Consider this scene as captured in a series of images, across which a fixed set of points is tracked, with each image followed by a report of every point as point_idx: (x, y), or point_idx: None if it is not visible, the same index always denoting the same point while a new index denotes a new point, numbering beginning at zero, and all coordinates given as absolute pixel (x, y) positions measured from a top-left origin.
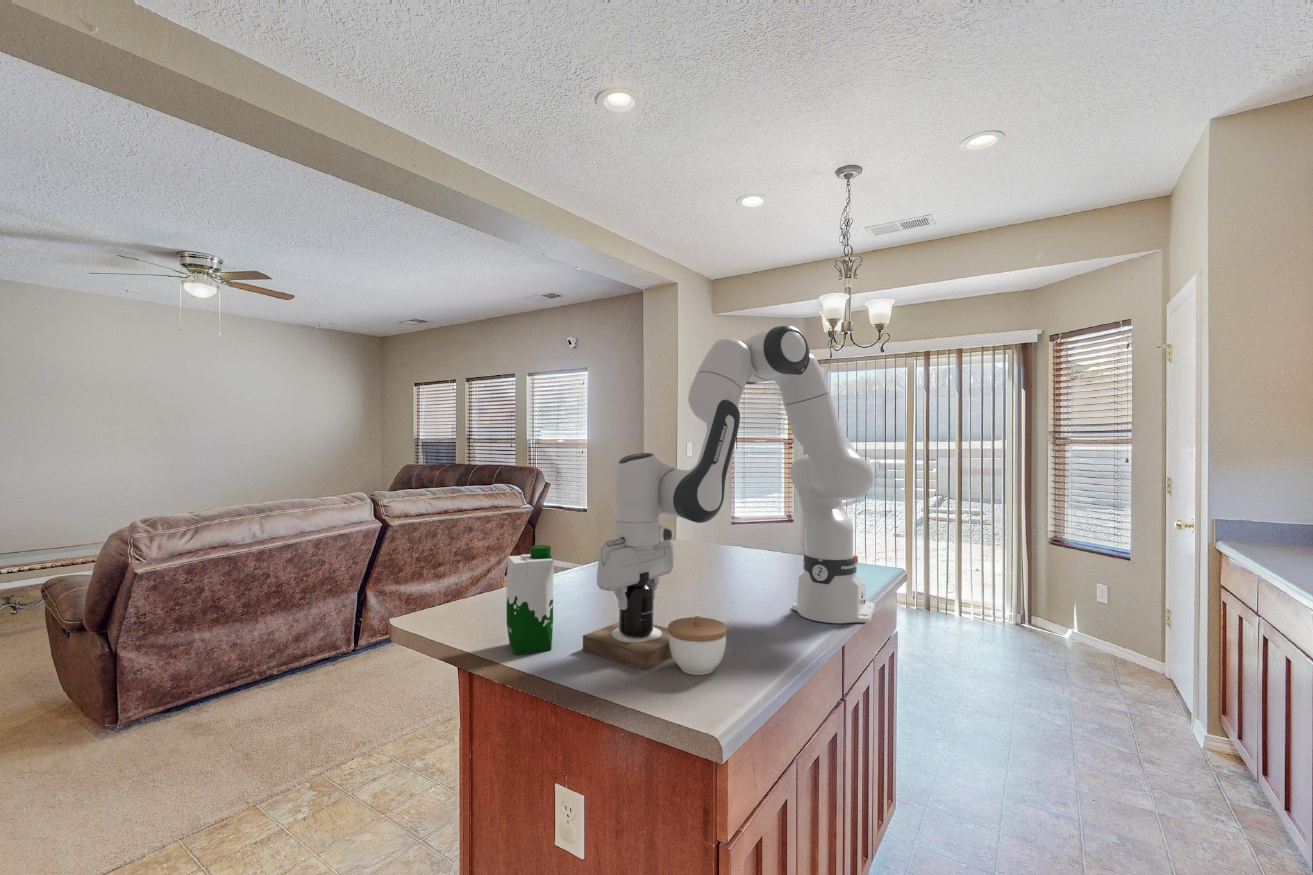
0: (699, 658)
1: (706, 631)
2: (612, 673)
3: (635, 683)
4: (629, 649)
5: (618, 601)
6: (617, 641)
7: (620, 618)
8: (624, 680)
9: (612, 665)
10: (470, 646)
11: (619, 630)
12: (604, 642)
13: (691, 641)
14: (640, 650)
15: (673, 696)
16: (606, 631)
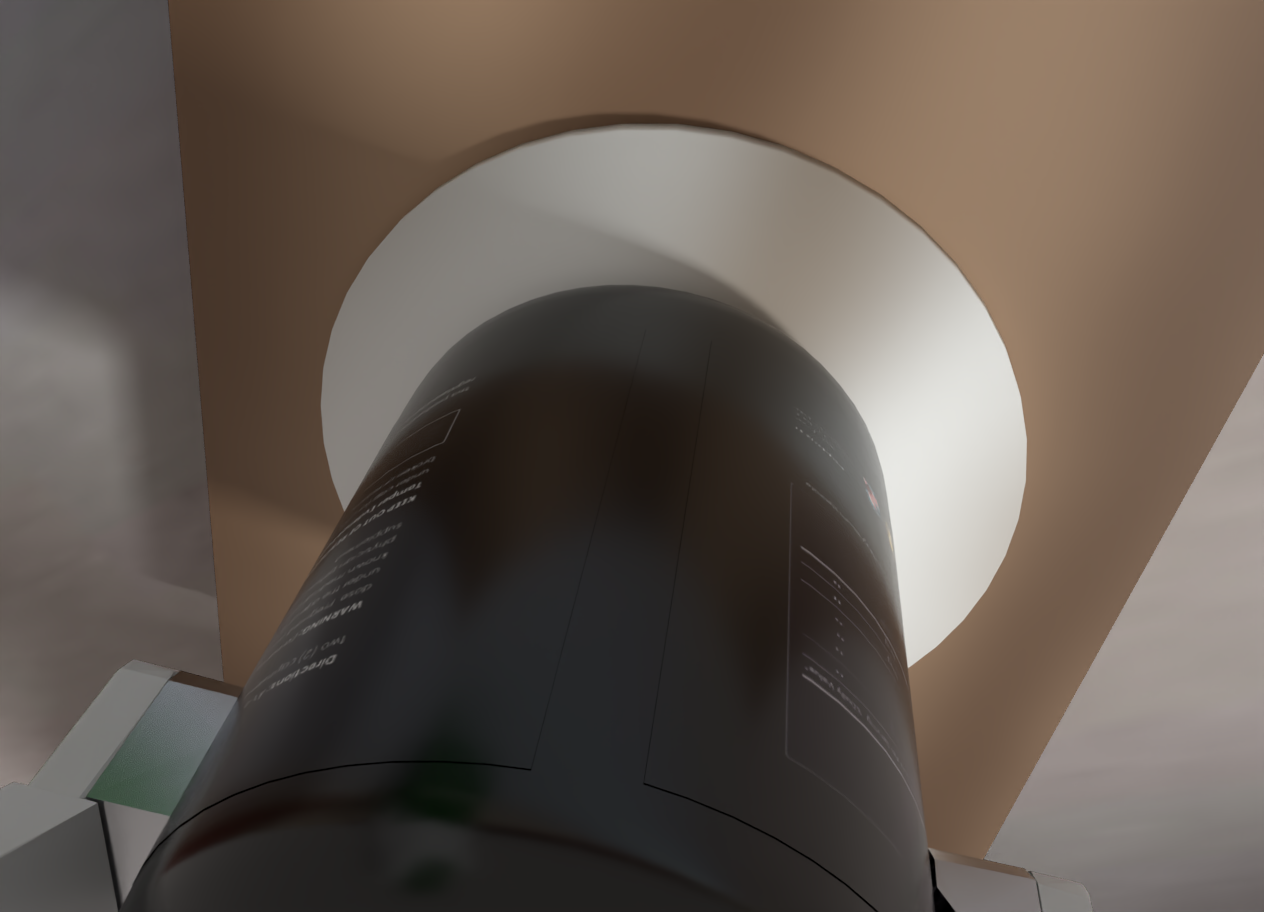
0: None
1: None
2: (52, 422)
3: (57, 634)
4: (220, 566)
5: (56, 751)
6: (302, 371)
7: (365, 479)
8: (33, 555)
9: (179, 340)
10: None
11: (465, 336)
12: (193, 223)
13: None
14: (253, 669)
15: None
16: (552, 7)
